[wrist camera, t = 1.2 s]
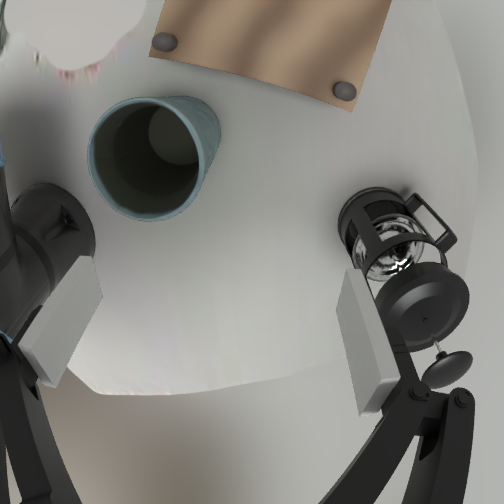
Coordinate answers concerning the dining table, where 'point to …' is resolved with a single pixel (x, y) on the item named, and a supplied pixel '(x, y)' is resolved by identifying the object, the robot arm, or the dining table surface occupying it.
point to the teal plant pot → (152, 155)
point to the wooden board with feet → (277, 41)
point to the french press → (409, 277)
